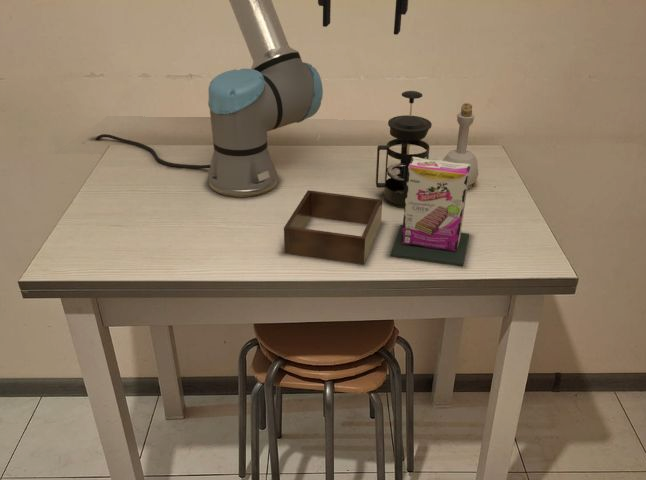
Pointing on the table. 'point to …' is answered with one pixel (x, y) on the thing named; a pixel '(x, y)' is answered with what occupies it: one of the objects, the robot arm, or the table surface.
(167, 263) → the table surface
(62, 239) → the table surface
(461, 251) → the mat
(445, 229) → the candy bar box
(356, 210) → the crate
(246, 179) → the robot arm
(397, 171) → the french press
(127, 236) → the table surface
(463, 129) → the potion bottle
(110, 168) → the table surface
